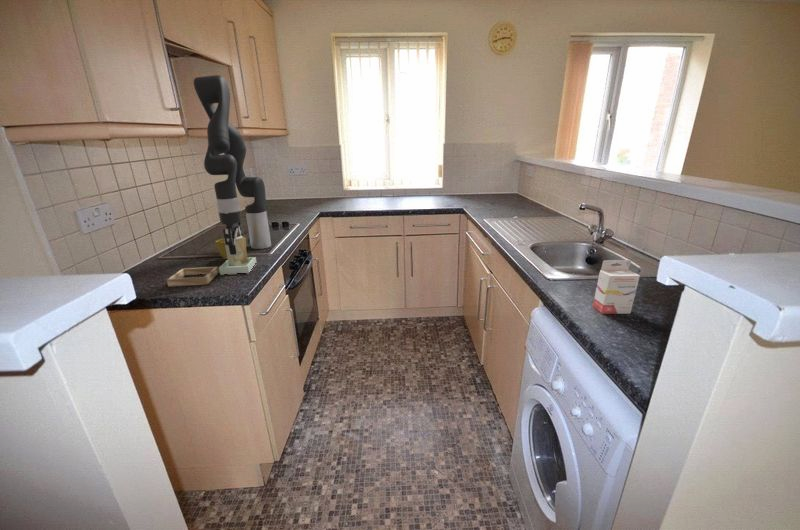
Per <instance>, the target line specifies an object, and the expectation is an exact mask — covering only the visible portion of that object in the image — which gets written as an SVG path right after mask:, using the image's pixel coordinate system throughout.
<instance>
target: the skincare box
mask: <svg viewBox="0 0 800 530" xmlns="http://www.w3.org/2000/svg"><path fill="white" fill-rule="evenodd" d="M245 238H246V237H244V236H242V237H241V236H237V239H236V240H235V247H236V252H237V253H236V254H235V255H231V254H230V251H229V246H228V245H226V244H225V247H226V253H227V259H228V266H229V267H232V266H246V265H247V264H248V259H247V258H248V253H247V244H246V245H245ZM223 239H224V238H223ZM224 241H225V239H224ZM230 242H231V241H230Z"/></svg>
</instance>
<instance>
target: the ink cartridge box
mask: <svg viewBox="0 0 800 530" xmlns="http://www.w3.org/2000/svg"><path fill="white" fill-rule="evenodd" d="M631 263H632V260H631V259H613V260H611V259H608V260H603V261H602V263H601V264H602V265H601V268H600V271H599V274H598V280H597V284H596V289H595V293H594V299H593V303H592V307H593V308H594V310H596V311H598V312H599V313H601V315H608V314H609V315H614V314H615V315H616V314H621V315H623V314H625V315H626V314H627V315H628V314H629V315H630V314H631V313H632V308H633V304H634V301H635V296H636V292H637V290H638V284H639V281H640V277H641V275H640V274H637V273H635V272H633V271H632V270H630V266H631ZM616 264H617V265H616Z"/></svg>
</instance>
